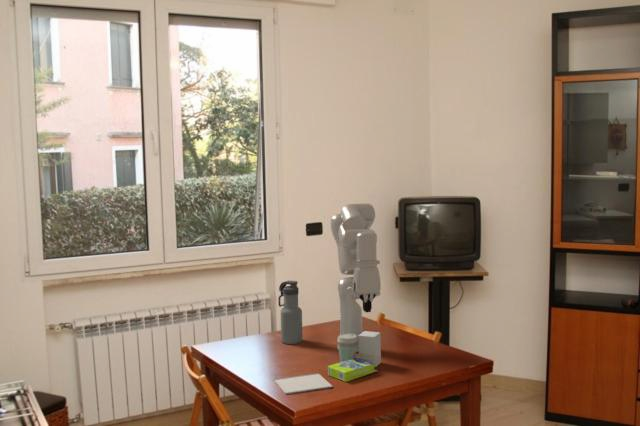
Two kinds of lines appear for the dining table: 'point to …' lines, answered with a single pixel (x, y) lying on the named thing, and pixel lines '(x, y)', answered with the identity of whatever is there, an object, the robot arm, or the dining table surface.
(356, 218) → the robot arm
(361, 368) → the box
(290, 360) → the dining table surface
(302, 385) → the mat
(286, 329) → the water bottle
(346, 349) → the coffee cup
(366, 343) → the supplement box
